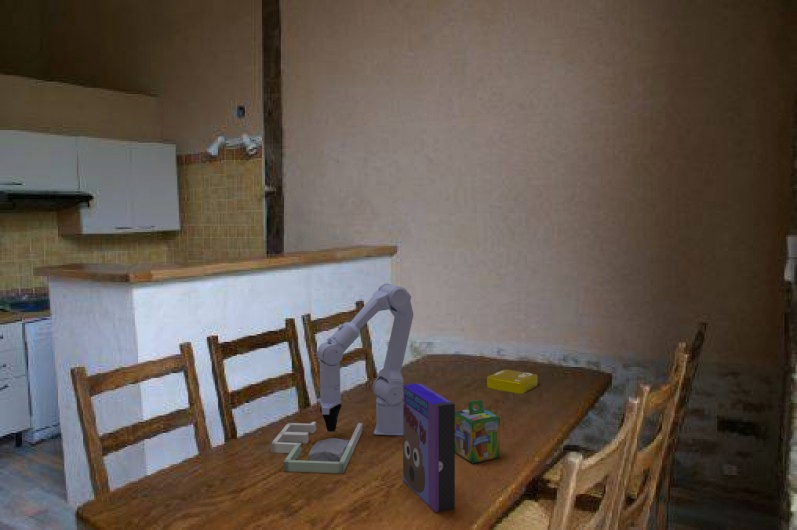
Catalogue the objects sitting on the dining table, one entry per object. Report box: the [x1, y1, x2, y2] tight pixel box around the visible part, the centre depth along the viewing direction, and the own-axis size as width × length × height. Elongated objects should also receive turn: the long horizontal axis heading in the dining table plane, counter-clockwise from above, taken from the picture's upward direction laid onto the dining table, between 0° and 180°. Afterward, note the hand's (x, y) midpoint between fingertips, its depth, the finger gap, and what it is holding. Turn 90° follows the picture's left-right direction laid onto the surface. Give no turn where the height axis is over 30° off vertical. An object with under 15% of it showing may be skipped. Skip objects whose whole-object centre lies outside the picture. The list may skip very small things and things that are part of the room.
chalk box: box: [455, 399, 501, 464], centre depth 163 cm, size 9×9×15 cm
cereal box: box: [402, 383, 456, 514], centre depth 140 cm, size 17×5×24 cm, turn 23°
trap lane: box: [270, 421, 363, 474], centre depth 168 cm, size 22×30×2 cm
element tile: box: [486, 369, 538, 394], centre depth 228 cm, size 15×15×5 cm
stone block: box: [308, 437, 350, 462], centre depth 162 cm, size 12×5×10 cm
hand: (331, 430), depth 174 cm, fingers closed
